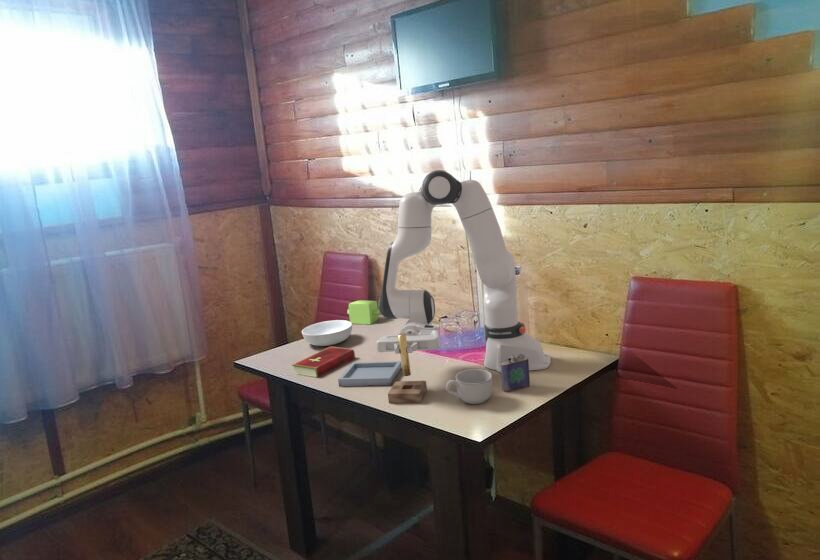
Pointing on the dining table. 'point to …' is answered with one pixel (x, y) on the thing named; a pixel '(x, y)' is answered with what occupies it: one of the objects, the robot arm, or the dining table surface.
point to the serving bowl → (327, 332)
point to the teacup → (472, 385)
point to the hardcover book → (323, 361)
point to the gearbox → (363, 312)
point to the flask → (515, 374)
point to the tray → (370, 373)
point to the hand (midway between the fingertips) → (403, 350)
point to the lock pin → (404, 354)
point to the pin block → (407, 392)
